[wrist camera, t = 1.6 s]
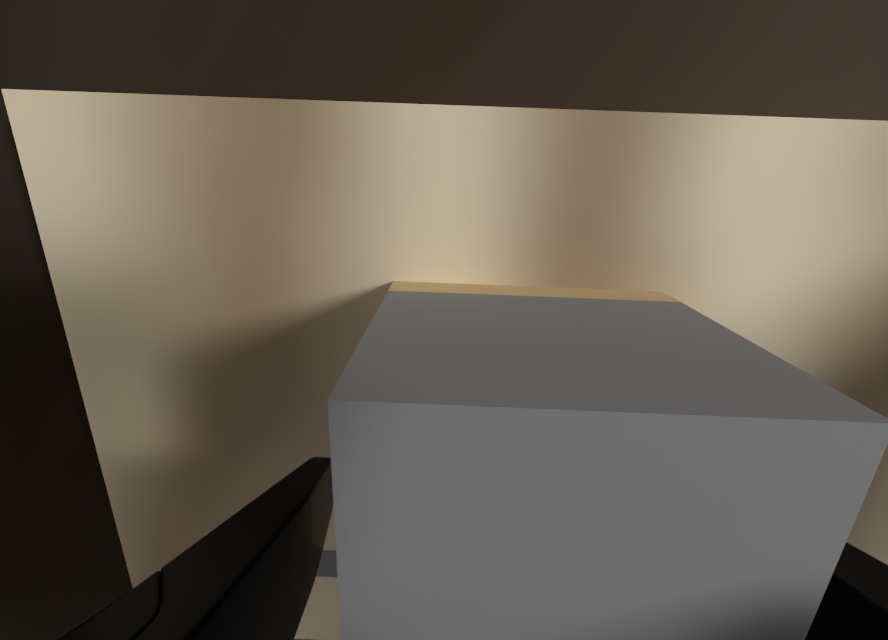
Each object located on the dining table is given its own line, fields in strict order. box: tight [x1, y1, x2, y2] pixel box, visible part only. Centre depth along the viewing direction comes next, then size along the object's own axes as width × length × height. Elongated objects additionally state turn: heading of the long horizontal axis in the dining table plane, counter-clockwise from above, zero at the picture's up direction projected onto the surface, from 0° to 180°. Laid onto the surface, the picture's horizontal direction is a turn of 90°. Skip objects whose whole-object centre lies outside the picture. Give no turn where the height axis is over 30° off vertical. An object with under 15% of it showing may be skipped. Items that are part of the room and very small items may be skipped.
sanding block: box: [328, 281, 888, 640], centre depth 7 cm, size 5×8×4 cm, turn 178°
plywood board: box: [1, 89, 888, 640], centre depth 11 cm, size 18×22×1 cm
